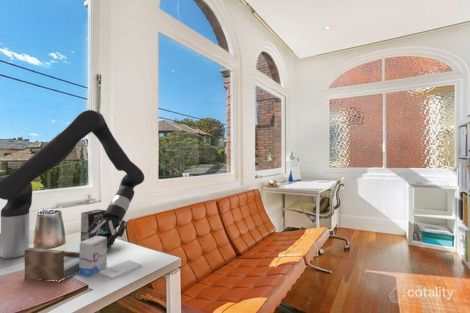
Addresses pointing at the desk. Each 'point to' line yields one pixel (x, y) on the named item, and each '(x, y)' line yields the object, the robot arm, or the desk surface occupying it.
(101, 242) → the ink box
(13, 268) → the desk surface
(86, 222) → the coffee box
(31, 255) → the brown open tray
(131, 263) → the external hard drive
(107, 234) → the controller
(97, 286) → the desk surface
